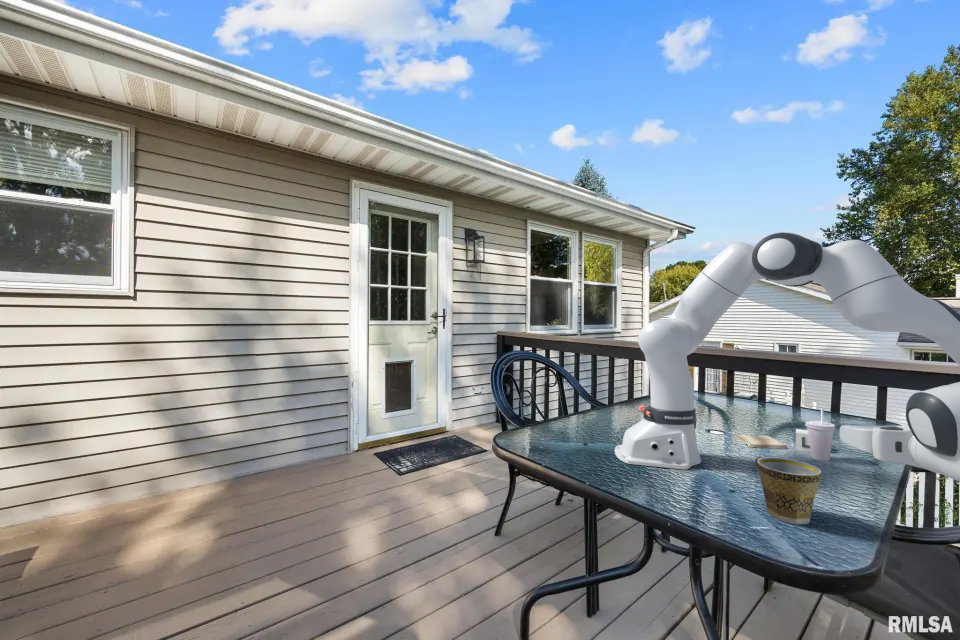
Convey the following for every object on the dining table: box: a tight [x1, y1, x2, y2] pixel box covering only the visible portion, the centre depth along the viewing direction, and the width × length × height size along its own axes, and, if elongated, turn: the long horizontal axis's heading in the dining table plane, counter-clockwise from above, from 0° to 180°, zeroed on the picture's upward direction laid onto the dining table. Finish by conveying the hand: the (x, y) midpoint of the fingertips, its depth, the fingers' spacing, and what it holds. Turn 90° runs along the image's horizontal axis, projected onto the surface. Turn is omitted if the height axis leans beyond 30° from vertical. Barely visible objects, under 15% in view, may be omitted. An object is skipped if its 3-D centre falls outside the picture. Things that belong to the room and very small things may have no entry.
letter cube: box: [795, 428, 811, 452], centre depth 119 cm, size 5×5×5 cm
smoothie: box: [804, 407, 836, 462], centre depth 110 cm, size 6×6×14 cm
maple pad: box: [733, 434, 788, 450], centre depth 125 cm, size 10×10×1 cm
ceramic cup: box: [755, 456, 822, 525], centre depth 80 cm, size 13×10×10 cm
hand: (870, 428), depth 94 cm, fingers open, 8 cm apart
